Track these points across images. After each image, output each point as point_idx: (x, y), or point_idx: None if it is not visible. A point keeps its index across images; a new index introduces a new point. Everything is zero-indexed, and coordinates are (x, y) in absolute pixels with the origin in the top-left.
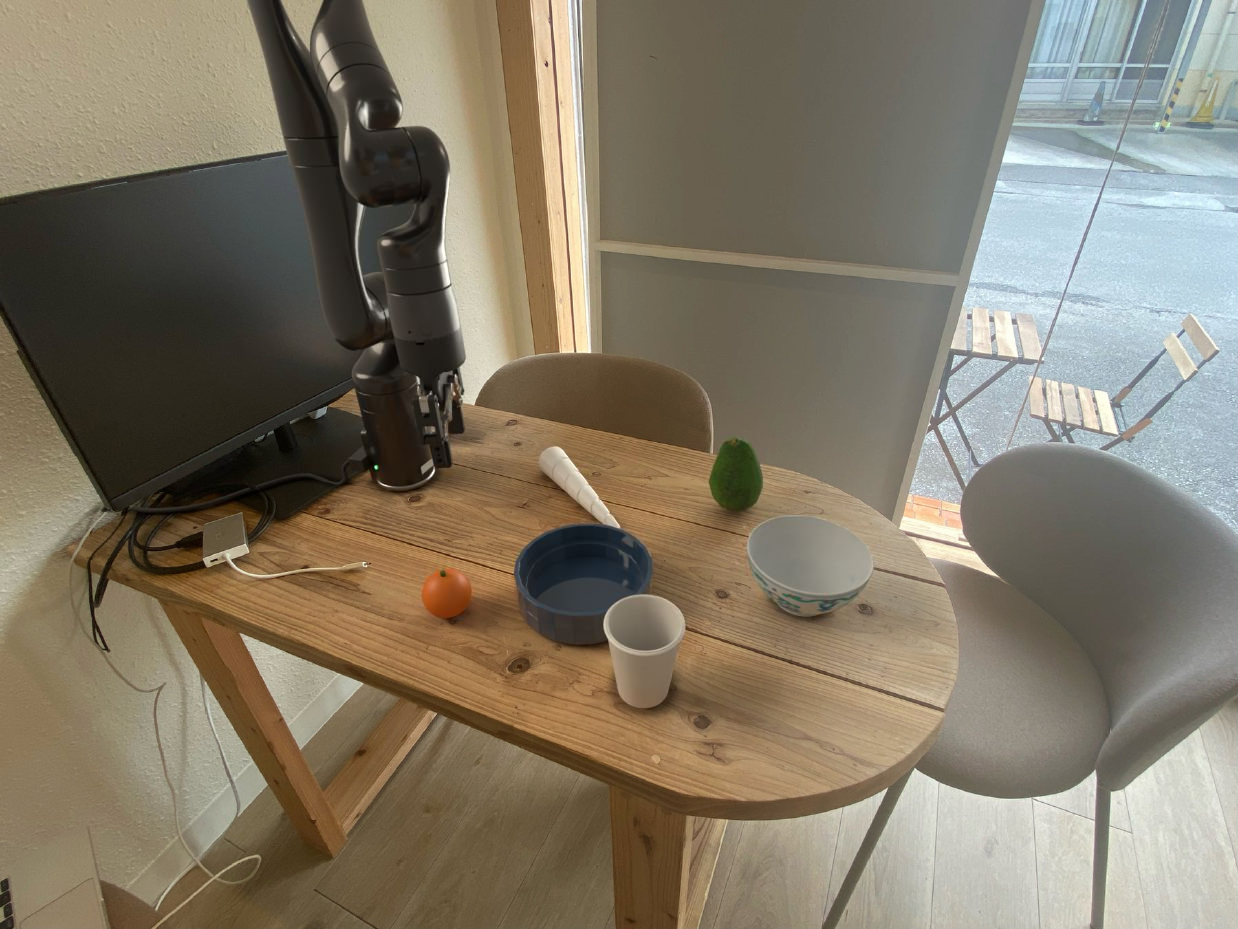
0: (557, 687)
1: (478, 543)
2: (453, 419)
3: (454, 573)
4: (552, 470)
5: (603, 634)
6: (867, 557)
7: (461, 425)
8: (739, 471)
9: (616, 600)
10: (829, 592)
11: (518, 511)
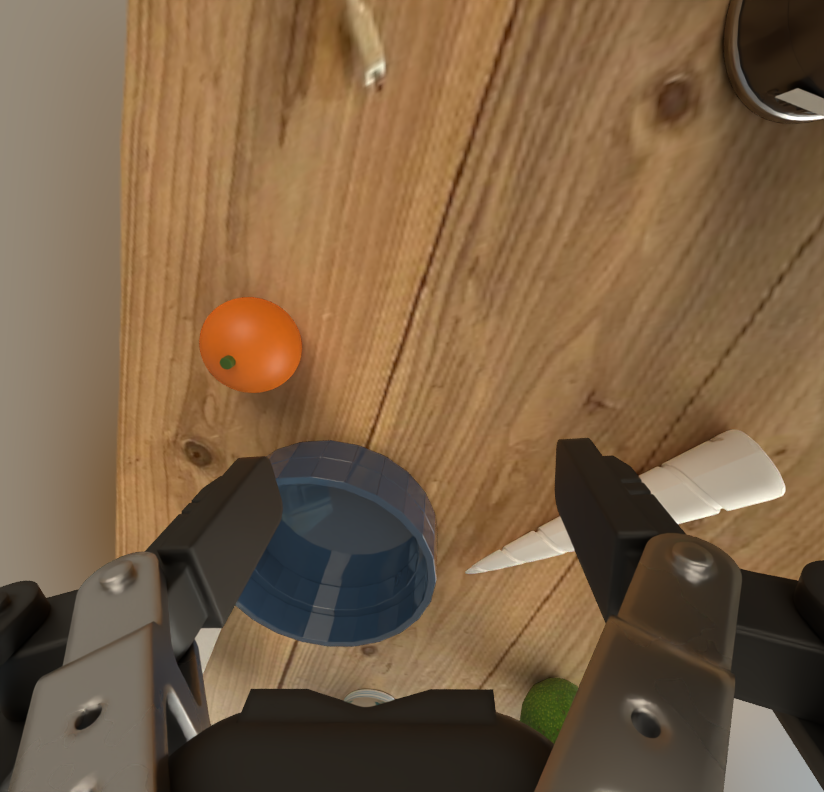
0: (180, 499)
1: (463, 337)
2: (582, 523)
3: (247, 378)
4: (687, 475)
5: None
6: None
7: (567, 526)
8: None
9: (328, 561)
10: None
11: (573, 396)
